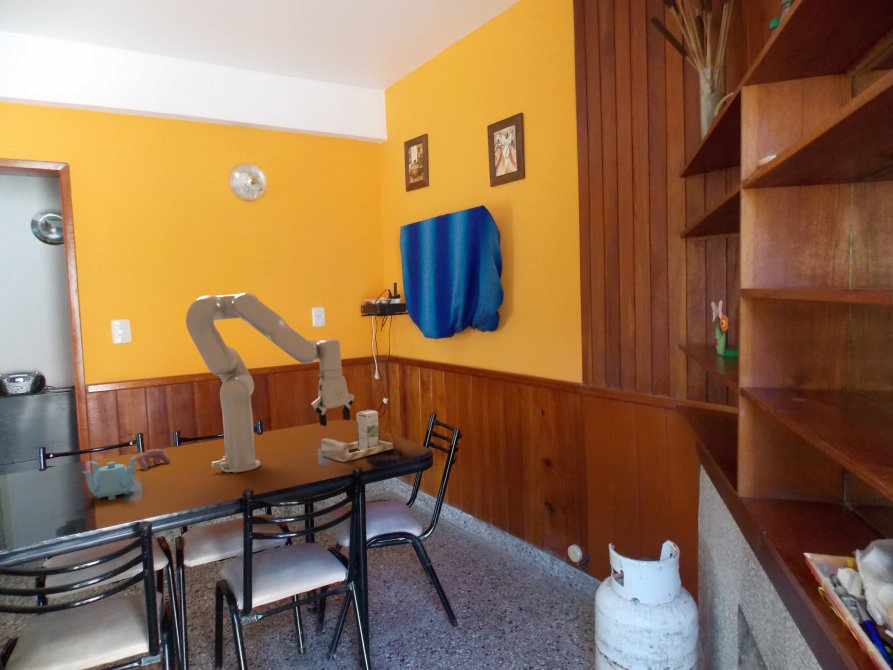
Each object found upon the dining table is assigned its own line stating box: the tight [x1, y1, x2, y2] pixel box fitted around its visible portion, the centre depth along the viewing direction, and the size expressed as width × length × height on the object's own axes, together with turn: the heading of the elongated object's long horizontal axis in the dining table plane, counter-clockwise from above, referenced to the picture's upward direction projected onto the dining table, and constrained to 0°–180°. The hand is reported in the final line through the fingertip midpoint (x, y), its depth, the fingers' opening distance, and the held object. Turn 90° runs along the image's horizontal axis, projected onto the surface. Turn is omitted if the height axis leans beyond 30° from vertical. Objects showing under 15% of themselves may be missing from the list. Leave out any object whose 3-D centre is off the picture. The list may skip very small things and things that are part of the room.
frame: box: [320, 438, 393, 463], centre depth 209 cm, size 22×13×6 cm, turn 135°
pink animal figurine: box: [136, 448, 171, 471], centre depth 203 cm, size 10×5×7 cm, turn 150°
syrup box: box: [356, 409, 380, 451], centre depth 212 cm, size 6×6×14 cm
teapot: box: [82, 454, 138, 501], centre depth 172 cm, size 13×13×10 cm
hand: (335, 422), depth 201 cm, fingers open, 9 cm apart
